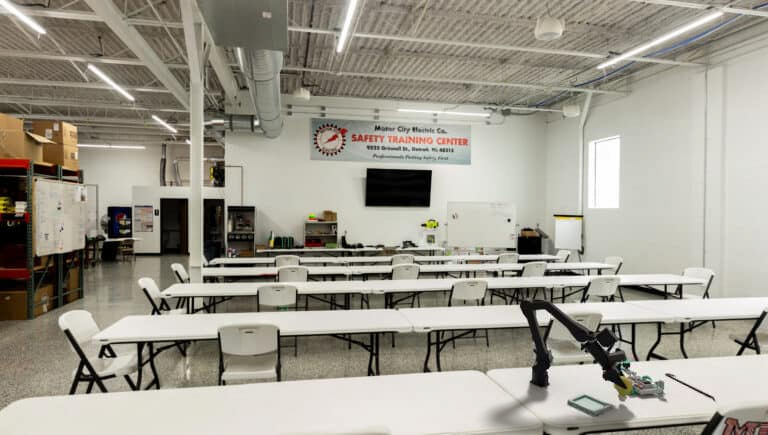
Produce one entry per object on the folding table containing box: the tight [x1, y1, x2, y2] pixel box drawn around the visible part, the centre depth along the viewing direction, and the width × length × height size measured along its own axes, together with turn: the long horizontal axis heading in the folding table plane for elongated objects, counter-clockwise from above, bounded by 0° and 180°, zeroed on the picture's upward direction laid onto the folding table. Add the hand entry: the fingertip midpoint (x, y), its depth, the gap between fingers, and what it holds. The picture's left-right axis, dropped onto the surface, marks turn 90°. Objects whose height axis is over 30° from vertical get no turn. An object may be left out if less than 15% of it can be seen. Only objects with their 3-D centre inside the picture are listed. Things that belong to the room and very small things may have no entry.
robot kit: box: [617, 360, 665, 396], centre depth 190 cm, size 19×25×9 cm
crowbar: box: [664, 372, 716, 402], centre depth 189 cm, size 28×1×5 cm
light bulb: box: [613, 376, 632, 403], centre depth 170 cm, size 7×7×10 cm
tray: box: [567, 392, 613, 417], centre depth 167 cm, size 12×12×2 cm
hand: (626, 385), depth 169 cm, fingers closed on light bulb, 7 cm apart
